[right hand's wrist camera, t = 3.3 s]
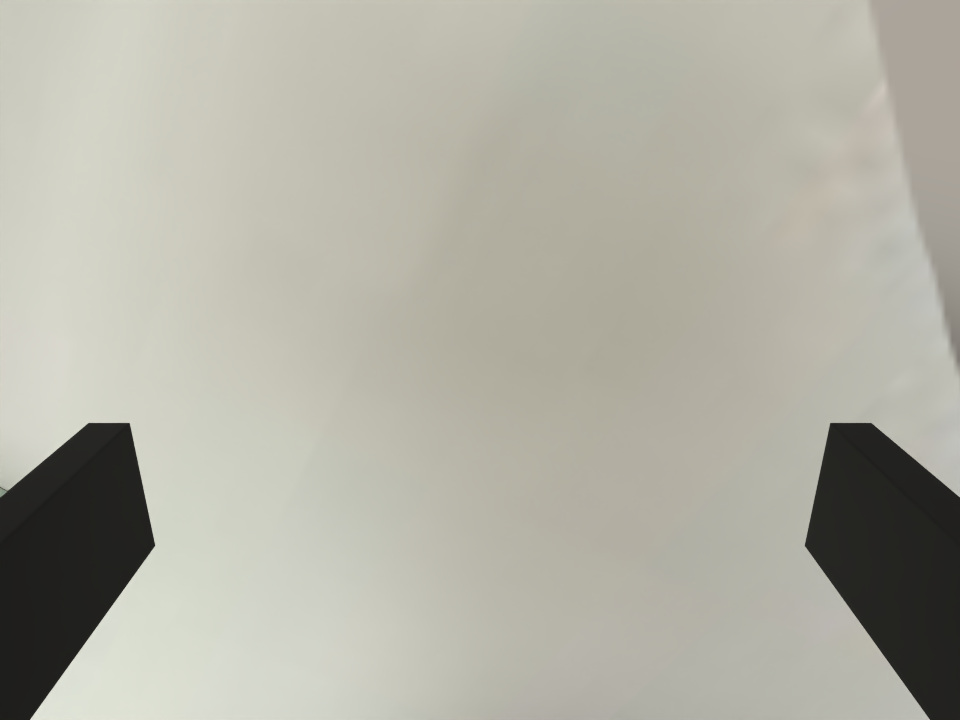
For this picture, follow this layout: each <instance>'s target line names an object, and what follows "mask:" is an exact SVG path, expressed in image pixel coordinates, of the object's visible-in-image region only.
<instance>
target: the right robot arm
mask: <svg viewBox="0 0 960 720" xmlns="http://www.w3.org/2000/svg"><path fill="white" fill-rule="evenodd" d="M154 547H155V543H154V538H153V533H152V528H151V523H150V519H149V514H148V509H147V504H146V499H145V495H144V490H143V485H142V480H141V475H140V471H139V466H138V461H137V456H136V451H135V447H134V442H133V437H132V432H131V427H130V423H88V424H87V425H86V426H85V427H84V428H82V429H81V430H80V431H79V432H78V433H76V434H75V435H74V436H73V437H72V438H70V439H69V440H68V441H67V442H66V443H64V444H63V445H62V446H61V447H60V448H59V449H57V450H56V451H55V452H54V453H53V454H51V455H50V456H49V457H48V458H47V459H45V460H44V461H43V462H42V463H41V464H39V465H38V466H37V467H36V468H35V469H34V470H32V471H31V472H30V473H29V474H28V475H26V476H25V477H24V478H23V479H22V480H20V481H19V482H18V483H17V484H16V485H15V486H13V487H12V488H11V489H10V490H9V491H7V492H6V493H5V494H4V495H3V496H1V497H0V720H30V719H31V717H32V716H33V715H34V713H35V712H36V711H37V709H38V708H39V706H40V705H41V704H42V702H43V701H44V699H45V698H46V697H47V695H48V694H49V692H50V691H51V690H52V688H53V687H54V686H55V684H56V683H57V681H58V680H59V679H60V677H61V676H62V674H63V673H64V672H65V670H66V669H67V667H68V666H69V665H70V663H71V662H72V661H73V659H74V658H75V656H76V655H77V654H78V652H79V651H80V649H81V648H82V647H83V645H84V644H85V642H86V641H87V640H88V638H89V637H90V635H91V634H92V633H93V631H94V630H95V629H96V627H97V626H98V624H99V623H100V622H101V620H102V619H103V617H104V616H105V615H106V613H107V612H108V610H109V609H110V608H111V606H112V605H113V604H114V602H115V601H116V599H117V598H118V597H119V595H120V594H121V592H122V591H123V590H124V588H125V587H126V585H127V584H128V583H129V581H130V580H131V579H132V577H133V576H134V574H135V573H136V572H137V570H138V569H139V567H140V566H141V565H142V563H143V562H144V560H145V559H146V558H147V556H148V555H149V553H150V552H151V551H152V549H153V548H154ZM805 547H806V548H807V549H808V551H809V552H810V553H811V555H812V556H813V558H814V559H815V560H816V562H817V563H818V565H819V566H820V567H821V569H822V570H823V572H824V573H825V574H826V576H827V577H828V579H829V580H830V581H831V583H832V584H833V585H834V587H835V588H836V590H837V591H838V592H839V594H840V595H841V597H842V598H843V599H844V601H845V602H846V604H847V605H848V606H849V608H850V609H851V610H852V612H853V613H854V615H855V616H856V617H857V619H858V620H859V622H860V623H861V624H862V626H863V627H864V629H865V630H866V631H867V633H868V634H869V635H870V637H871V638H872V640H873V641H874V642H875V644H876V645H877V647H878V648H879V649H880V651H881V652H882V654H883V655H884V656H885V658H886V659H887V661H888V662H889V663H890V665H891V666H892V667H893V669H894V670H895V672H896V673H897V674H898V676H899V677H900V679H901V680H902V681H903V683H904V684H905V686H906V687H907V688H908V690H909V691H910V692H911V694H912V695H913V697H914V698H915V699H916V701H917V702H918V704H919V705H920V706H921V708H922V709H923V711H924V712H925V713H926V715H927V716H928V717H929V719H930V720H960V497H959V496H957V495H956V494H955V493H954V492H953V491H951V490H950V489H949V488H948V487H947V486H945V485H944V484H943V483H942V482H941V481H940V480H938V479H937V478H936V477H935V476H934V475H932V474H931V473H930V472H929V471H928V470H926V469H925V468H924V467H923V466H922V465H921V464H919V463H918V462H917V461H916V460H915V459H913V458H912V457H911V456H910V455H909V454H907V453H906V452H905V451H904V450H903V449H901V448H900V447H899V446H898V445H897V444H896V443H894V442H893V441H892V440H891V439H890V438H888V437H887V436H886V435H885V434H884V433H882V432H881V431H880V430H879V429H878V428H876V427H875V426H874V425H873V424H872V423H830V427H829V432H828V437H827V442H826V447H825V451H824V456H823V461H822V466H821V471H820V475H819V480H818V485H817V490H816V495H815V499H814V504H813V509H812V514H811V519H810V523H809V528H808V533H807V538H806V543H805Z"/></svg>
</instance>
